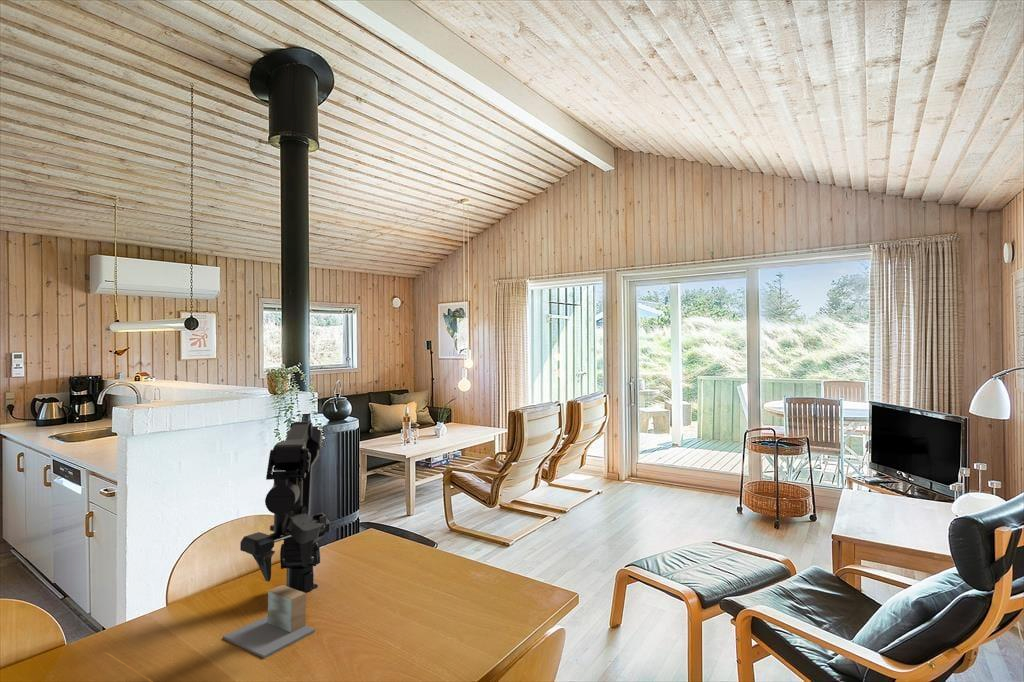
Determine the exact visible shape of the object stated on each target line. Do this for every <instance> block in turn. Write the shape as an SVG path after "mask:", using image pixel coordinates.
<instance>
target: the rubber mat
mask: <svg viewBox="0 0 1024 682" xmlns="http://www.w3.org/2000/svg"><path fill="white" fill-rule="evenodd" d="M315 632H316V628H313V627H310V626H308V625H306V624H305V626H304V627H302V628H300V629H298V630H296V631H294V632H292V633H290V632H288V631H286V630H283V629H281V628H279V627H276V626H274V625H272V624H269V623H268V615H265V616H264V617H261V618H260V619H258V620H255V621H253V622H250V623H249V624H246V625H244V626H242V627H239V628H237V629H235V630H233V631H231V632H228V633H226V634H224V635H222V639H224V640H225V641H227V642H229V643H232V644H233V645H236V646H238V647H239V648H242V649H244V650H246V651H248V652H250V653H252V654H254V655H256V656H258V657H260V658H262V659H266V658H268V657H270V656H272V655H274V654H275V653H277V652H279V651H281V650H283V649H285V648H286V647H289V646H290V645H292V644H294V643H296V642H298V641H300V640H302V639H304V638H306V637H308V636H309V635H312V634H314V633H315Z"/></svg>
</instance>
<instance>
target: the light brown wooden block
mask: <svg viewBox="0 0 1024 682" xmlns="http://www.w3.org/2000/svg"><path fill="white" fill-rule="evenodd" d="M267 593H268V594H267V595H268V596H267V616H268V623H269V624H272V625H274V626H276V627H279V628H281V629H283V630H286V631H288V632H290V633H292V632H294V631H296V630H298V629H300V628H302V627H304V626H305V625H306V621H307V620H306V617H307V616H306V615H307V614H306V611H307V608H306V607H307V606H306V605H307V604H306V603H307V592H305V593H304V592H302V591H299V590H296V589H293V588H290V587H288V586H286V585H285V584H282V585H279V586H277V587H274V588H271V589H269V590H268V591H267Z"/></svg>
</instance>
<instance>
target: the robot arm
mask: <svg viewBox="0 0 1024 682" xmlns="http://www.w3.org/2000/svg"><path fill="white" fill-rule="evenodd" d="M322 448H323V436H322V431H321V430H320V429H318V428H317V427H316V426H315V427H314V425H313V422H311V421H294V422H291V423H290V427H289V429H288V430H287V432H286V438H285V440H282V441H279V442H278V441H277V443H276V444H274V446H273V449H271V450H270V452H269V457H268V463H267V470H266V477H265V480H266V481H267V480H268V481H269V480H273V485H272V487H271V488H270V489H269V491H268V492H267V494H266V495H265V499H264V502H265V504H264V505H265V507H266V508H267V510H268V511H269V512H270V513H272V514H273V524H272V525H270V526H269V531H271V532H273V533H270V534H268V533H263V532H259V531H258V532H255V533H251V534H248V535H245V536H243V537H242V539H241V540H240V544H239V545H240V548H239V549H240V551H241V552H244V553H246V554H249V555H251V556H252V557H253V558H254V560H255V562H256V564H257V566H258V567H259V568H258V569H259V571H260V572H261V574H262V575H263V578H264V581H266V582H267V583H268V582H271V578H272V559H273V556H274V554H275V552H276V550H273V548H274V547H275V543H278V542H281V541H283V543H281V545H280V550H279V558H280V570H284V569H286V585H285V586H288V587H290V588H293V589H296V590H299V591H302V592H304V593H308V592H310V591H312V590H314V589H316V588H318V587H319V585H318V584H317V583H315V581H314V576H315V575H314V574H315V573H314V567H317V565H319V564H321V548H320V546H319V544H318V541H320V540H321V539H322V538H323V537H325V536H326V534H327V533H329V532H330V531H331V522H330V520H329V519H328V518H327V515H326V514H325V513H324V512H320V513H317V514H315V515H314V514H311V499H312V481H313V480H312V479H313V478H312V477H313V467H314V465H315V464H316V462H317V460H319V458H320V451H322Z"/></svg>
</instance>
